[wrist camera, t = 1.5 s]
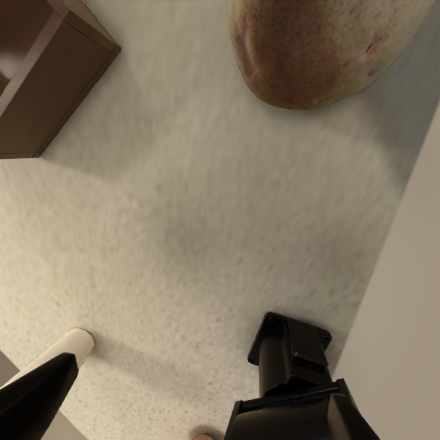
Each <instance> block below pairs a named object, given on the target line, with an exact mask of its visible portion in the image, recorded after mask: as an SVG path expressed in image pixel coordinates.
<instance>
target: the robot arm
mask: <svg viewBox="0 0 440 440" xmlns="http://www.w3.org/2000/svg"><path fill="white" fill-rule="evenodd" d="M269 317H272V318H271V319H269ZM324 336H327V337H324ZM331 340H332V336H331V334H330V332H328V331H326V330H323V329H320V328H317V327H315V326H312V325H309V324H306V323H303V322H300V321H297V320H294V319H290V318H287V317H284V316H281V315H278V314H275V313H272V312H268V313H266V314H265V316H264V319H263V321H262V323H261V326H260V328H259V330H258V333H257V335H256V337H255V340H254V342H253V345H252V347H251V349H250V352H249V354H248V362H249V363H251V364H254V365H257V366H259V393H260V398H257V399H252V400H247V401H242V400H240V401H236V402H235V405H234V408H233V411H232V415H231V418H230V421H229V424H228V428H227V431H226V434H225V437H224V440H380V439H379V437H378V436H377V435H376V433H375V432H374V431H373V430H372V428H371V427H370V426H369V425H368V423H367V422H366V421H365V419H364V418H363V417H362V415H361V414H360V412H359V410H358V408H357V406H356V404H355V402H354V399H353V397H352V395H351V393H350V391H349V389H348V387H347V385H346V382H345V380H344V379H343V378H342V379H338V380H336V382H332V379H331V376H330V373H329V370H328V362H327V359H326V356H325V353H324V352H325V350H326V348H327V347H328V345H329V343H330V341H331ZM252 358H253V359H252ZM78 371H79V369H78V364H77V360H76V356H75V354H74V353H68V352H63V353H61V354H59V355H57V356H56V357H54V358H52V359H51V360H49V361H47V362H46V363H44V364H42V365H40V366H39V367H37V368H35V369H34V370H32V371H30V372H29V373H27V374H25V375H24V376H22V377H20V378H18V379H17V380H15V381H13V382H12V383H10V384H8V385H7V386H5V387H3V388H2V389H0V440H41V438H42V437H43V435H44V433H45V432H46V430H47V428H48V427H49V426H50V424H51V422H52V420H53V419H54V417H55V415H56V413H57V412H58V410H59V408H60V406H61V405H62V403H63V401H64V399H65V397H66V396H67V394H68V392H69V390H70V389H71V387H72V385H73V383H74V381H75V380H76V378H77V375H78Z"/></svg>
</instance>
